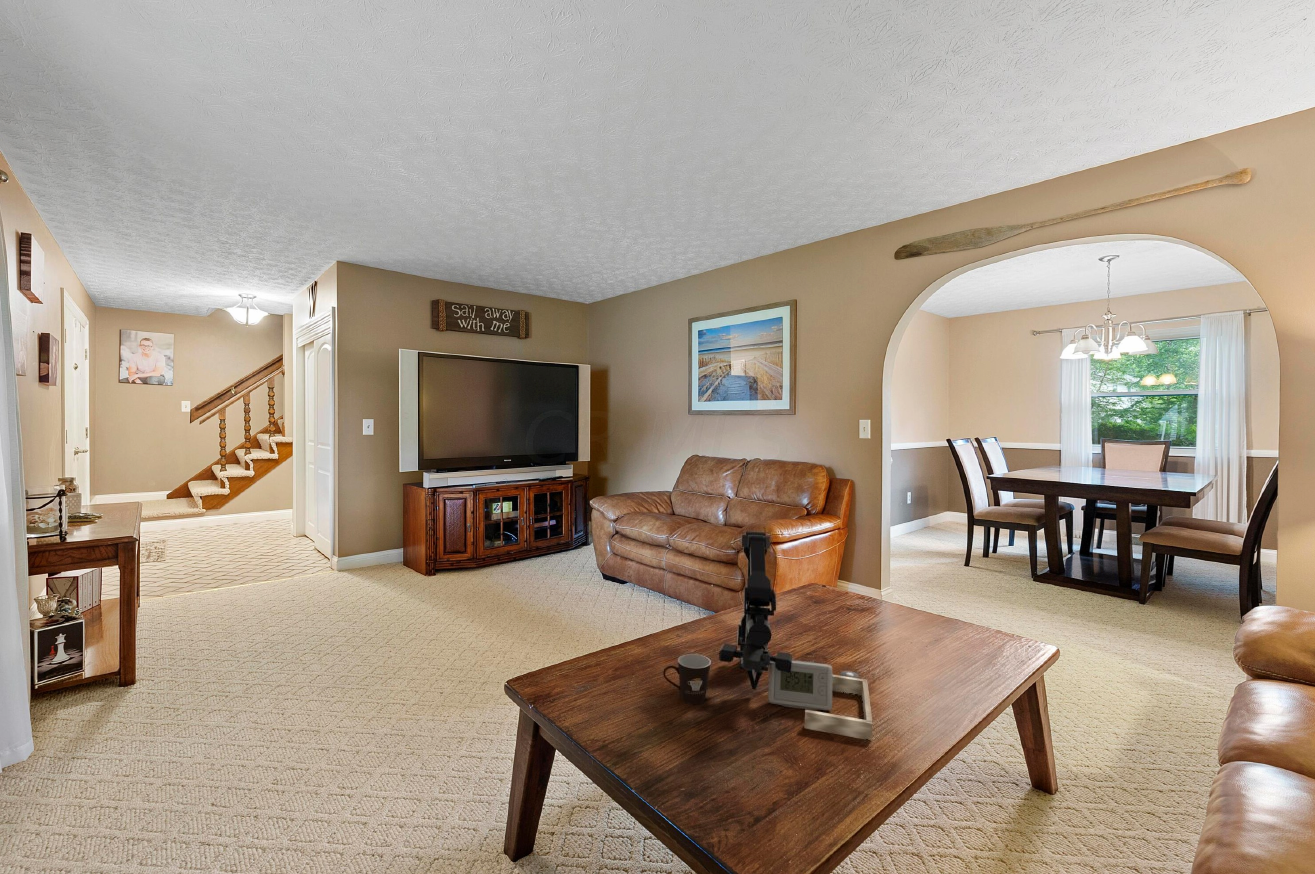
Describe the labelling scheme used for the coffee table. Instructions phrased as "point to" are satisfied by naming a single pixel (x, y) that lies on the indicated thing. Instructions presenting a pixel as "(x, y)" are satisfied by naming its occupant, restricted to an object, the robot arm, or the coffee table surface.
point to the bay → (842, 723)
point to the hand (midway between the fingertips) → (754, 688)
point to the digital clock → (802, 686)
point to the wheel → (849, 674)
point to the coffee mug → (692, 677)
